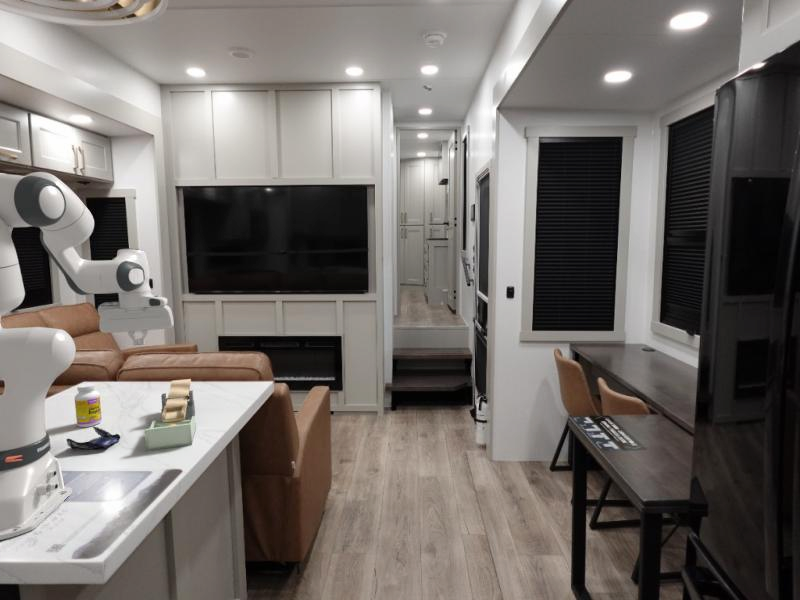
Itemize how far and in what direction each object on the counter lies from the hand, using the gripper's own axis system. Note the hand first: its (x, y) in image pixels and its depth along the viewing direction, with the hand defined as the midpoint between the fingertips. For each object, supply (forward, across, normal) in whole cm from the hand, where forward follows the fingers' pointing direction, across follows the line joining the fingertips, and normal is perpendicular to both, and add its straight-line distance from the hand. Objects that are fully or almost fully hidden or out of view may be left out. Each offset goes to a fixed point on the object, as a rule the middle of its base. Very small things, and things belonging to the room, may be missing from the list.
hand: (139, 344), depth 145 cm
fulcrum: (+26, +10, 0) cm, 27 cm away
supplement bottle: (+26, -17, +6) cm, 32 cm away
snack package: (+26, -10, -14) cm, 32 cm away
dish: (+26, +10, -17) cm, 32 cm away
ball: (+24, +10, -16) cm, 30 cm away
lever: (+21, +10, 0) cm, 23 cm away
